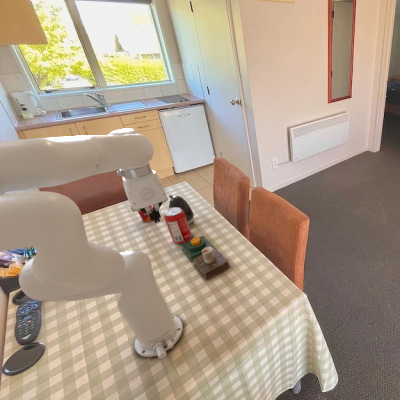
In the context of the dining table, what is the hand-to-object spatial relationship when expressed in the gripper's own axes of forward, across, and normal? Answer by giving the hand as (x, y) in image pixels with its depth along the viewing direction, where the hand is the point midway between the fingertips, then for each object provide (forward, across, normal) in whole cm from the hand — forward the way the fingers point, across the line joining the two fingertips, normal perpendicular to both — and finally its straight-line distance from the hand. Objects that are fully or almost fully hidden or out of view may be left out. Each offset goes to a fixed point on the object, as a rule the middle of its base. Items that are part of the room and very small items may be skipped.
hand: (156, 220), depth 90 cm
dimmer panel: (+24, +11, -6) cm, 27 cm away
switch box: (+23, +11, +7) cm, 27 cm away
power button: (+20, +11, +6) cm, 23 cm away
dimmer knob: (+20, +11, -6) cm, 24 cm away
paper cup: (+22, +2, +48) cm, 53 cm away
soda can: (+23, +9, +19) cm, 31 cm away
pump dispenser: (+23, +14, +31) cm, 40 cm away
